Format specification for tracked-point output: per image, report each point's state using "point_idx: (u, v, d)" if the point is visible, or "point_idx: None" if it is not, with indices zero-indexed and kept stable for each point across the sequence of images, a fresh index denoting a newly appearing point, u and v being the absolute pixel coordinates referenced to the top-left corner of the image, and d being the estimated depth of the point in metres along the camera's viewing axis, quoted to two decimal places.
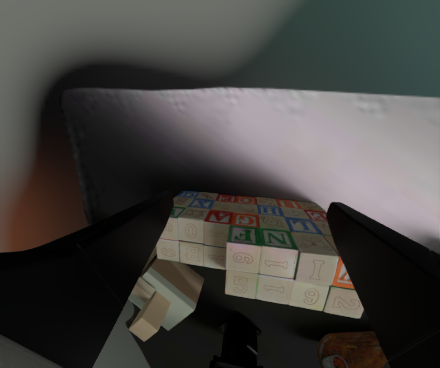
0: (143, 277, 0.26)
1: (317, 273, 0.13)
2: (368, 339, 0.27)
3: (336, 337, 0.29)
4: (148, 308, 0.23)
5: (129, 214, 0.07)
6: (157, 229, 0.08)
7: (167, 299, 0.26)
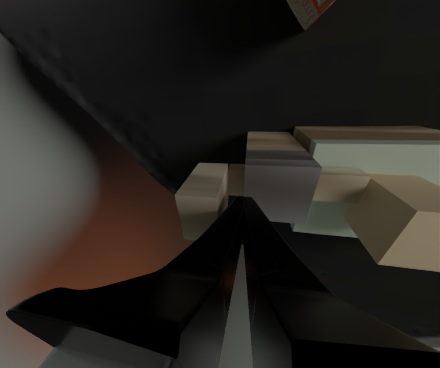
0: None
1: None
2: None
3: None
4: (398, 195, 0.08)
5: (229, 223, 0.06)
6: (241, 238, 0.08)
7: (401, 176, 0.10)
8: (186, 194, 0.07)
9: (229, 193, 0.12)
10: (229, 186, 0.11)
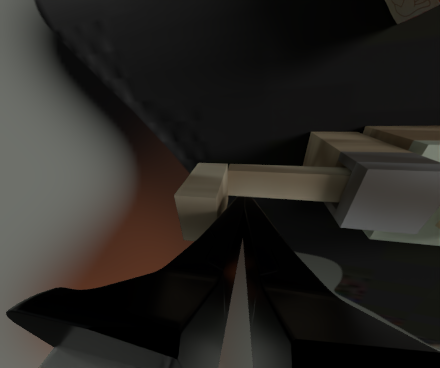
0: None
1: None
2: None
3: None
4: None
5: (229, 223, 0.06)
6: (241, 238, 0.08)
7: None
8: (185, 194, 0.07)
9: (229, 193, 0.12)
10: (229, 186, 0.11)
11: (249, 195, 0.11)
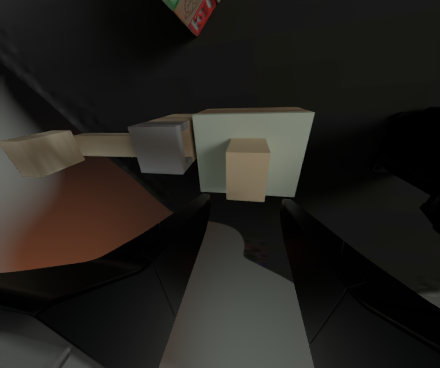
0: (196, 132, 0.15)
1: None
2: None
3: None
4: (230, 146, 0.12)
5: (180, 219, 0.07)
6: (200, 234, 0.08)
7: (255, 139, 0.14)
8: (4, 141, 0.12)
9: (82, 154, 0.16)
10: (80, 148, 0.16)
11: (95, 155, 0.16)
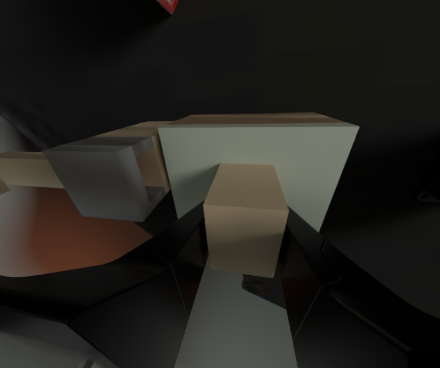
0: (167, 153, 0.09)
1: None
2: None
3: None
4: (215, 185, 0.07)
5: (193, 220, 0.06)
6: None
7: (258, 166, 0.09)
8: None
9: (4, 182, 0.11)
10: None
11: (21, 184, 0.11)
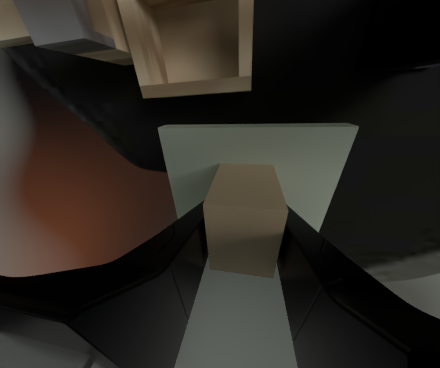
0: (167, 153, 0.09)
1: None
2: None
3: None
4: (214, 186, 0.07)
5: (193, 220, 0.06)
6: None
7: (258, 166, 0.09)
8: None
9: None
10: None
11: None
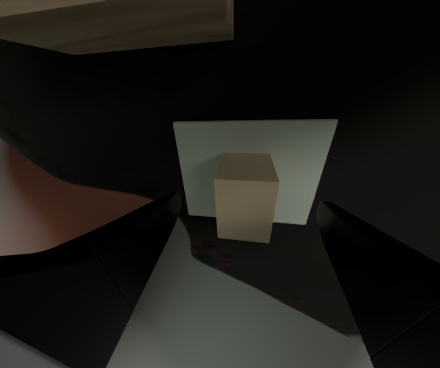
0: (180, 144, 0.11)
1: None
2: None
3: None
4: (222, 167, 0.09)
5: (139, 215, 0.07)
6: (166, 230, 0.08)
7: (257, 154, 0.11)
8: None
9: None
10: None
11: None
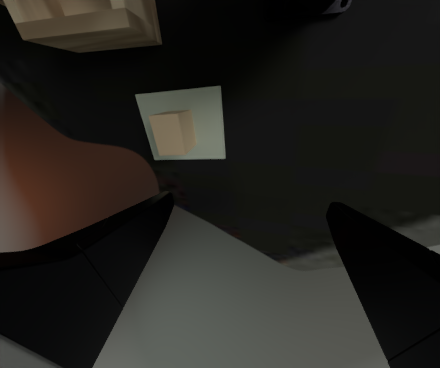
0: (141, 108, 0.19)
1: None
2: None
3: None
4: (157, 113, 0.16)
5: (129, 214, 0.07)
6: (157, 229, 0.08)
7: (184, 111, 0.18)
8: None
9: None
10: None
11: None
